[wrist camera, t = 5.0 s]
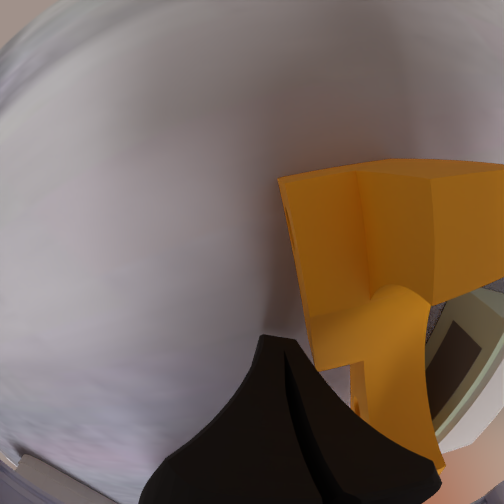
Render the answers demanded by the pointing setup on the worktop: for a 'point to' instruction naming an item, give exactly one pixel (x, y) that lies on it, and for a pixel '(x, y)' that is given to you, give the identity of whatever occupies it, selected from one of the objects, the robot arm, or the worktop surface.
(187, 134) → the worktop surface
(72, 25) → the worktop surface
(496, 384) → the pale green block
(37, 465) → the dish
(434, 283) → the pipe clamp
